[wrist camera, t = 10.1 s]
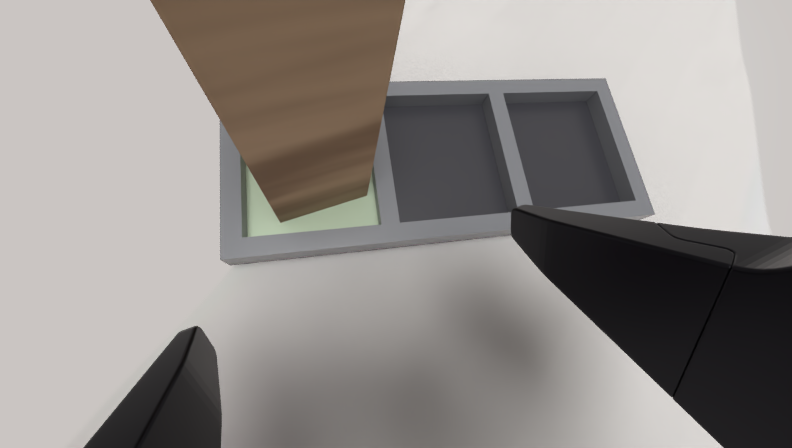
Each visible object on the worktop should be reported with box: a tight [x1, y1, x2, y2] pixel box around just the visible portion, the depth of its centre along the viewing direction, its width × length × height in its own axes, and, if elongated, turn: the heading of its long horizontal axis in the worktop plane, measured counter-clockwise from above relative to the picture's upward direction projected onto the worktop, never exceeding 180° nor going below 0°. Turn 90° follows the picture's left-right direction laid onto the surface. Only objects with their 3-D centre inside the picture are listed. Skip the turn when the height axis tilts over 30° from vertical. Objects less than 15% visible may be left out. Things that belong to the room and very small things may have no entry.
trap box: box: [220, 78, 655, 265], centre depth 21 cm, size 25×10×2 cm, turn 98°
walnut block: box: [150, 0, 405, 223], centre depth 12 cm, size 5×5×15 cm
